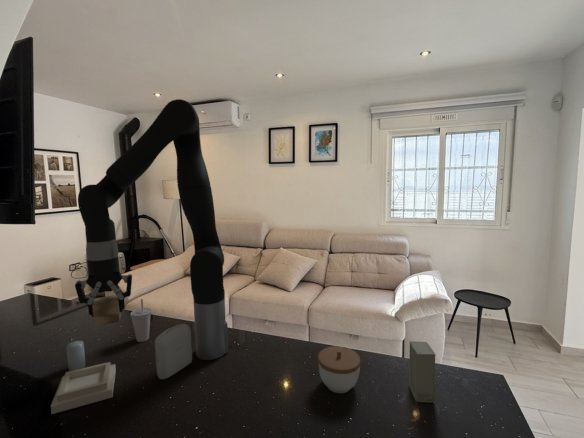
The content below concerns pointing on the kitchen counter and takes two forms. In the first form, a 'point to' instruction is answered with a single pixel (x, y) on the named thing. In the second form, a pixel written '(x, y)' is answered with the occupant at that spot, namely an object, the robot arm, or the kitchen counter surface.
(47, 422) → the kitchen counter surface
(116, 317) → the oak block
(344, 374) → the lidded jar
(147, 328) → the smoothie
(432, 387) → the skincare box
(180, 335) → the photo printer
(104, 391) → the cream base
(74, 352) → the grey post
